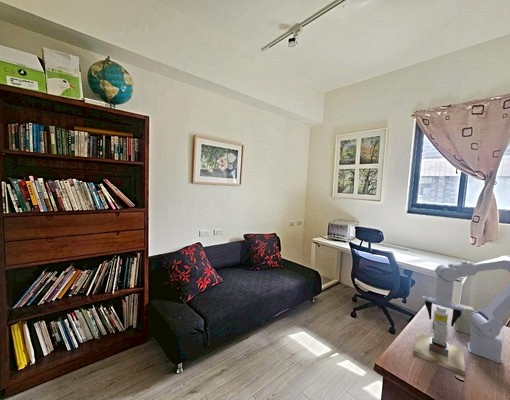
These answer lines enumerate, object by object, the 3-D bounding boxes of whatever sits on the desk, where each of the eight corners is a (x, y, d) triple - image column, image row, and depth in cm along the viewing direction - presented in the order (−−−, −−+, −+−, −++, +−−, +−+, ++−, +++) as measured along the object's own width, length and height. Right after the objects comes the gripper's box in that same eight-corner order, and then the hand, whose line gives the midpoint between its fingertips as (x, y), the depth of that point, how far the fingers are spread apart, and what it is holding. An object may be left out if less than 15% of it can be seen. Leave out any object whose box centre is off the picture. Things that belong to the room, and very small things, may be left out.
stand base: (462, 352, 99) (462, 349, 98) (464, 375, 86) (465, 371, 86) (416, 335, 109) (417, 332, 109) (413, 353, 96) (413, 350, 96)
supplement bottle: (448, 329, 114) (451, 310, 114) (436, 327, 115) (438, 309, 115) (442, 323, 120) (444, 305, 119) (430, 321, 121) (432, 303, 120)
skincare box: (470, 330, 114) (473, 306, 113) (472, 335, 111) (475, 310, 110) (453, 326, 118) (456, 302, 117) (455, 330, 114) (457, 306, 113)
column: (445, 341, 97) (447, 323, 97) (445, 346, 94) (447, 327, 94) (433, 336, 100) (435, 319, 99) (433, 341, 97) (434, 323, 96)
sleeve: (447, 349, 98) (448, 342, 98) (447, 358, 93) (448, 351, 92) (429, 342, 102) (430, 336, 101) (429, 350, 96) (429, 344, 96)
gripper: (423, 290, 104) (420, 319, 105) (466, 301, 95) (463, 333, 96) (424, 285, 109) (421, 312, 110) (465, 295, 100) (462, 325, 101)
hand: (440, 321), depth 103 cm, fingers open, 7 cm apart
